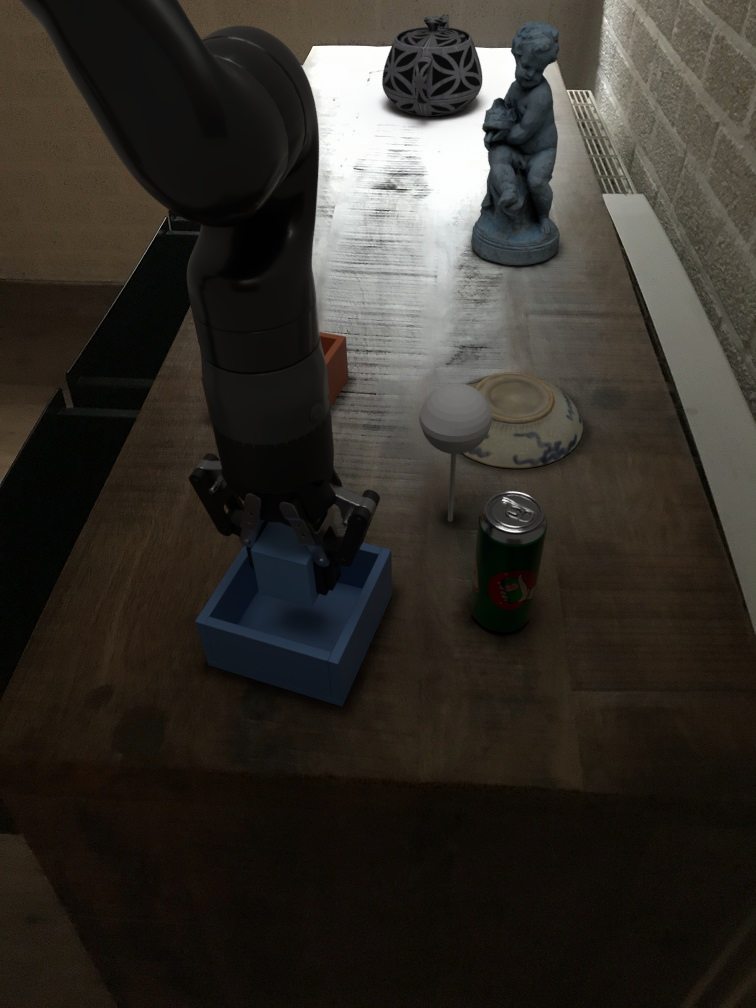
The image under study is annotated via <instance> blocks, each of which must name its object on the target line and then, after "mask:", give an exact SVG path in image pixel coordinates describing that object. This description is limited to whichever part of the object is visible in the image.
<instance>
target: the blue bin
mask: <svg viewBox="0 0 756 1008" xmlns="http://www.w3.org/2000/svg"><path fill="white" fill-rule="evenodd" d="M392 571H393V570H392V550H391V549H390V548H387V547H381V546H378V545H374V544H370V543H366V542H363V543H362V545H361V547H360V549H359V551H358V553H357V555H356V557H355V559H354V561H353V563H352V565H351V566H350V567H344V566H342V565H341V573H342V574H341V576H340V578H339V580H338V582H337V584H336V586H335V588H334V589H333V591H331V590H329V592H328V593H327V595H326V596H325V595H321V594H319V596H318V598H317V599H316V601H315V603H314V605H313V607H312V608H310V607H306V606H303V605H299V604H295V603H292V602H288V601H285V600H281V599H277V598H274V597H270V596H266V595H263V594H260V593H259V588H258V583H257V578H256V574H255V570H253V569H252V568H251V566H250V564H249V559H248V554H247V550H246V546H244V545H243V546H242V548H241V550H240V551H239V553H238V554H237V555H236V557H235V559H234V560H233V562H232V563H231V565H230V567H229V568H228V570H226V572H225V574H224V576H223V577H222V579H221V581H220V582H219V583H218V585H217V587H216V588H215V590H214V591H213V593H212V594H211V596H210V597H209V599H208V601H207V602H206V604H205V605H204V607H203V608H202V610H201V611H200V613H199V614H198V616H197V618H196V619H195V621H194V624H195V626H196V630H197V633H198V636H199V639H200V643H201V646H202V649H203V653H204V655H205V659H206V662H207V665H208V666H210V667H212V668H217V669H219V670H223V671H225V672H229V673H232V674H236V675H239V676H242V677H244V678H248V679H252V680H255V681H256V682H257V681H258V682H261V683H264V684H268V685H271V686H273V687H277V688H279V689H284V690H287V691H289V692H294V693H296V694H300V695H302V696H306V697H309V698H312V699H316V700H318V701H321V702H325V703H329V704H332V705H335V706H338V707H340V708H341V707H343V706H344V704H345V702H346V699H347V697H348V695H349V694H350V691H351V688H352V686H353V684H354V681H355V680H356V677H357V675H358V674H359V673H358V672H359V670H360V668H361V666H362V665H363V664H362V663H363V661H364V659H365V657H366V655H367V652H368V650H369V649H370V645H371V643H372V641H373V639H374V637H375V635H376V632H377V630H378V627H379V626H380V623H381V621H382V618H383V616H384V614H385V612H386V609H387V607H388V605H389V603H390V601H391V599H392V596H393V576H392V575H393V573H392Z"/></svg>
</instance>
